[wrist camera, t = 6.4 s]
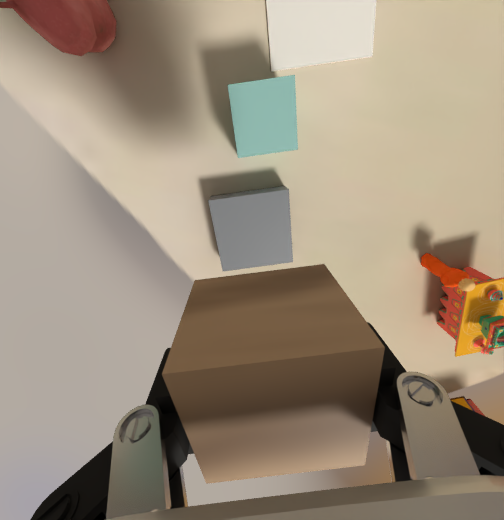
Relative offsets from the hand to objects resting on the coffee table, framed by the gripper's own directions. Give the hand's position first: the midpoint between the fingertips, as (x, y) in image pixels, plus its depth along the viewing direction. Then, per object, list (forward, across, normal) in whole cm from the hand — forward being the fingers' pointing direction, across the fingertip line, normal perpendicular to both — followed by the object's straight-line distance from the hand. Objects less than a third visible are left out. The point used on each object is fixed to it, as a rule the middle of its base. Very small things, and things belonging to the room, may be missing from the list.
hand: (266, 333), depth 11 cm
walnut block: (+1, 0, 0) cm, 1 cm away
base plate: (+17, 0, 0) cm, 17 cm away
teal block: (+18, -2, -10) cm, 20 cm away
